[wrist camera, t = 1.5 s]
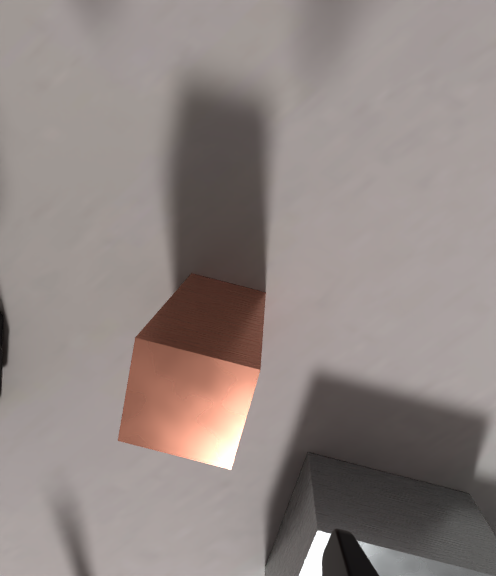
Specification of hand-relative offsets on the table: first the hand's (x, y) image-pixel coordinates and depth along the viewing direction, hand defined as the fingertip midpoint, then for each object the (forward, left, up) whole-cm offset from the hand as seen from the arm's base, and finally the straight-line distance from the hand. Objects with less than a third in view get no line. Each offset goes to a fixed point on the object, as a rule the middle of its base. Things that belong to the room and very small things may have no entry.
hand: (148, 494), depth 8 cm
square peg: (0, 0, -11) cm, 11 cm away
